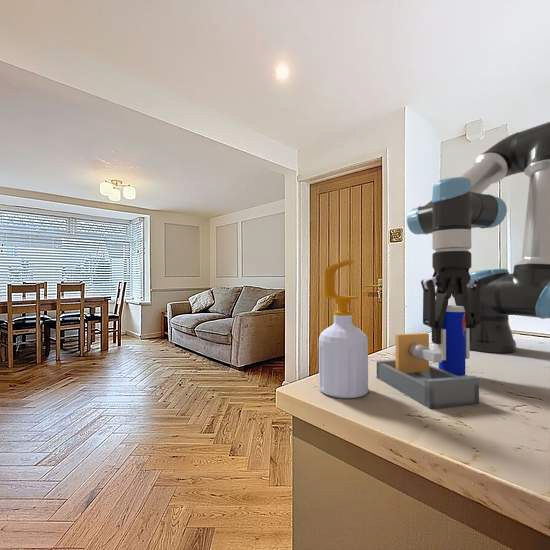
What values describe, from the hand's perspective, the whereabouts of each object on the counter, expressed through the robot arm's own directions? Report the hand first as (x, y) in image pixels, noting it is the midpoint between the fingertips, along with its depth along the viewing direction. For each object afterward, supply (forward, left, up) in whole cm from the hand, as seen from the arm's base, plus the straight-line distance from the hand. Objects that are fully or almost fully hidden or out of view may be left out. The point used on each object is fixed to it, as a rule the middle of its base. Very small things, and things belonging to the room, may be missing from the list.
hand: (451, 357), depth 72 cm
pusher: (+12, +7, -1) cm, 14 cm away
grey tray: (+12, +6, -4) cm, 14 cm away
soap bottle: (+27, +4, -4) cm, 28 cm away
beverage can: (0, 0, -4) cm, 4 cm away
